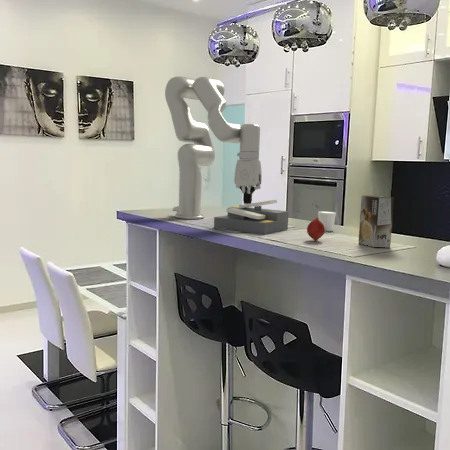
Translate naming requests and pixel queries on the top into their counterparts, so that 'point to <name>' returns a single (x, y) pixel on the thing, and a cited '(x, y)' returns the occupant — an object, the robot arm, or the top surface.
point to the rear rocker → (258, 204)
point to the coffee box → (376, 221)
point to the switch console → (254, 221)
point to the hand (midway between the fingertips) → (247, 203)
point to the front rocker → (245, 213)
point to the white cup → (327, 219)
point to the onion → (315, 229)
